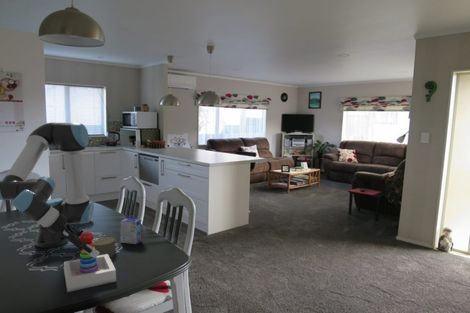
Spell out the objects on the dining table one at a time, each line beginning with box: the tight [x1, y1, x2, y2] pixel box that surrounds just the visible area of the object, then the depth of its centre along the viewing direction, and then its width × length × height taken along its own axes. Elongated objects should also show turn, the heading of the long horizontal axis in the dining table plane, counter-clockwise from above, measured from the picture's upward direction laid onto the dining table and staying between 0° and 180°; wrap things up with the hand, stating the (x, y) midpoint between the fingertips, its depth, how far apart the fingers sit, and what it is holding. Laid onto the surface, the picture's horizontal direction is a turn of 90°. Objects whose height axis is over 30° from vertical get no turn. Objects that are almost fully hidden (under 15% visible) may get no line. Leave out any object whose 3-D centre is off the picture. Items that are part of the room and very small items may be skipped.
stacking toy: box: [79, 230, 99, 275], centre depth 138 cm, size 8×8×19 cm
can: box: [93, 235, 116, 257], centre depth 163 cm, size 12×12×7 cm
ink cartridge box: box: [120, 214, 142, 245], centre depth 178 cm, size 10×6×14 cm, turn 78°
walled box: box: [63, 254, 117, 293], centre depth 139 cm, size 18×18×5 cm
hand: (94, 249), depth 139 cm, fingers open, 13 cm apart
